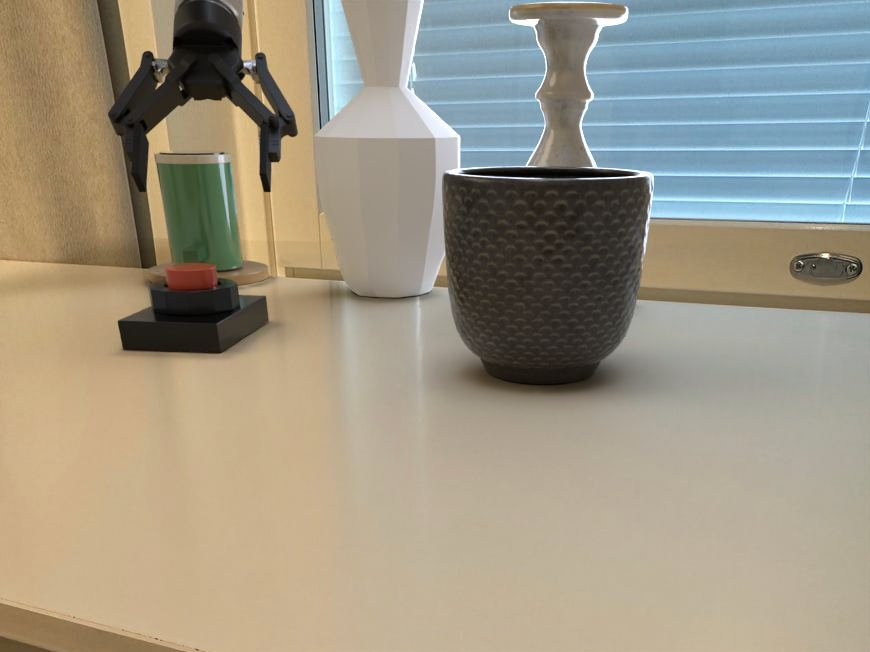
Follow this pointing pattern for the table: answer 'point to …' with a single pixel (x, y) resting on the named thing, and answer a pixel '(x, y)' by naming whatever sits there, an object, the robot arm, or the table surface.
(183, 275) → the timer button
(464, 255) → the planter
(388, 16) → the vase
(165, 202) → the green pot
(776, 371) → the table surface
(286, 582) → the table surface
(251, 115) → the robot arm
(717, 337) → the table surface
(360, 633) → the table surface
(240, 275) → the trivet
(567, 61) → the candle holder
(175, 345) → the black base
